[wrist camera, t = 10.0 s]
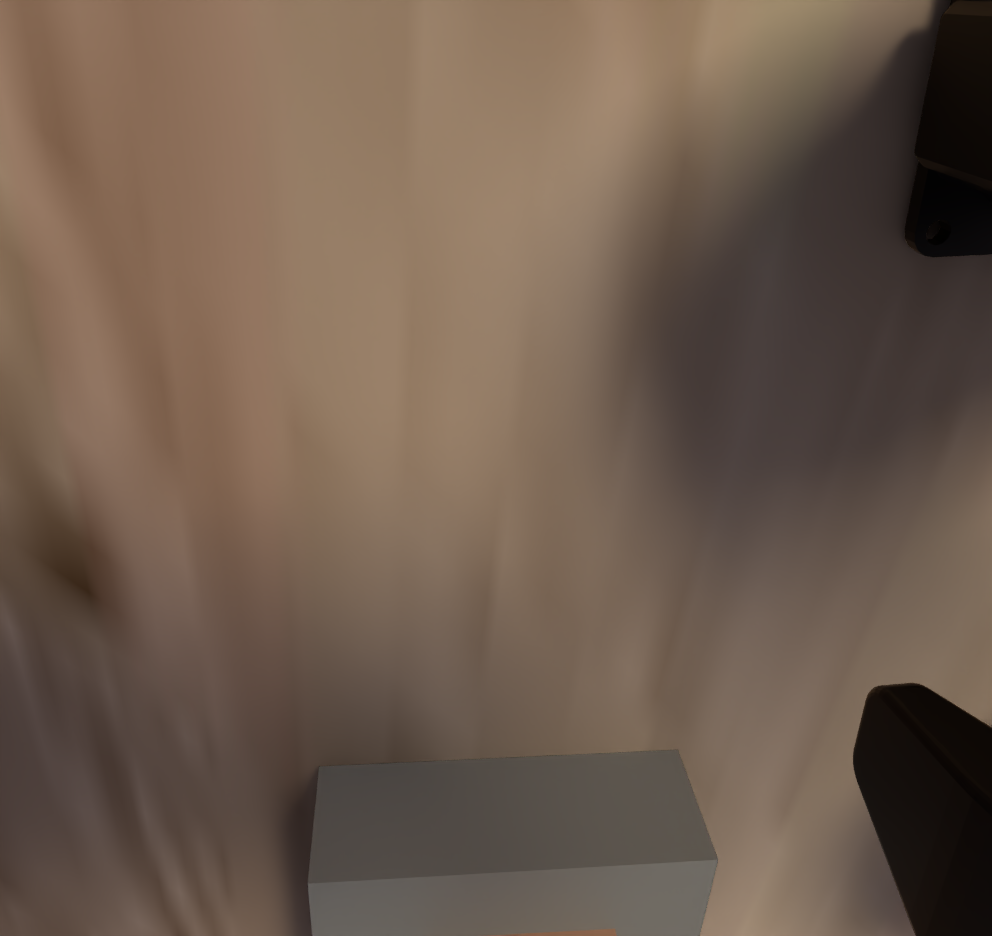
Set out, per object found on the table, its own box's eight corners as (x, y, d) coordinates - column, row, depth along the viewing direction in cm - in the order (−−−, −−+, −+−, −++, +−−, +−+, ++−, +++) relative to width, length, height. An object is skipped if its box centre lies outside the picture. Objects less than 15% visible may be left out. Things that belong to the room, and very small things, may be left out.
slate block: (673, 739, 25) (718, 859, 22) (633, 954, 30) (664, 1081, 27) (319, 754, 24) (307, 884, 21) (335, 974, 29) (327, 1110, 26)
